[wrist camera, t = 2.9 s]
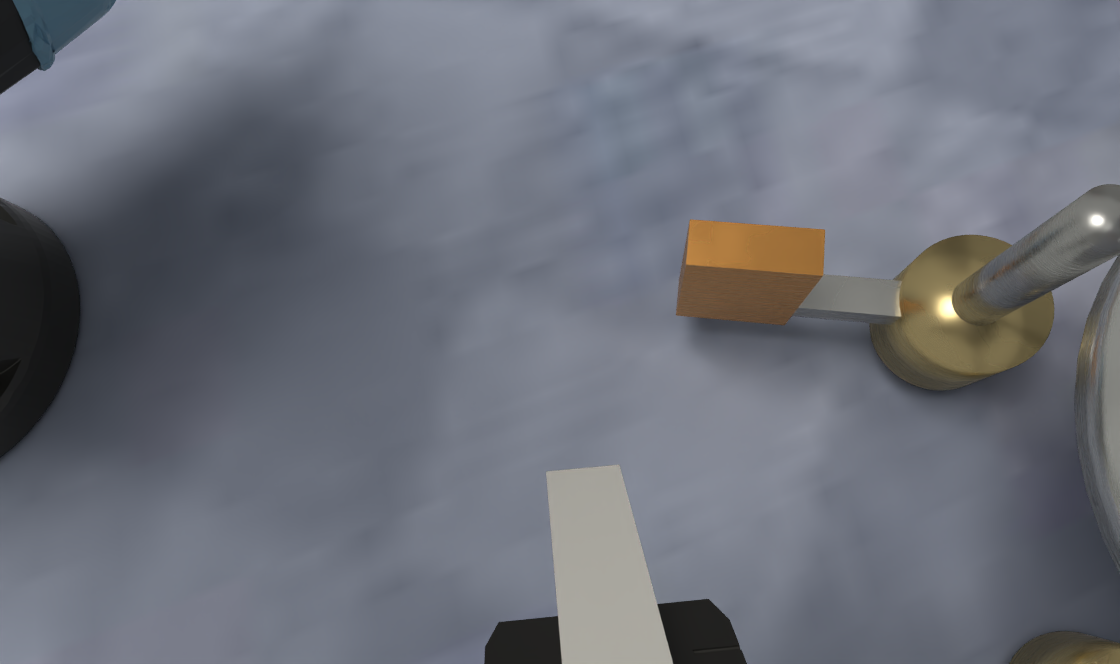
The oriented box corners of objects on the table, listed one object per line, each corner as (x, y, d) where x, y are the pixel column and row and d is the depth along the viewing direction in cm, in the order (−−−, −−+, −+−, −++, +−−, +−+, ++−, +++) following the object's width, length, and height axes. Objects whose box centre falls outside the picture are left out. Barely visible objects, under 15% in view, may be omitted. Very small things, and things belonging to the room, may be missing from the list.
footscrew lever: (988, 282, 32) (1216, 132, 19) (990, 400, 31) (1234, 321, 18) (679, 257, 33) (705, 103, 21) (669, 368, 32) (690, 276, 20)
